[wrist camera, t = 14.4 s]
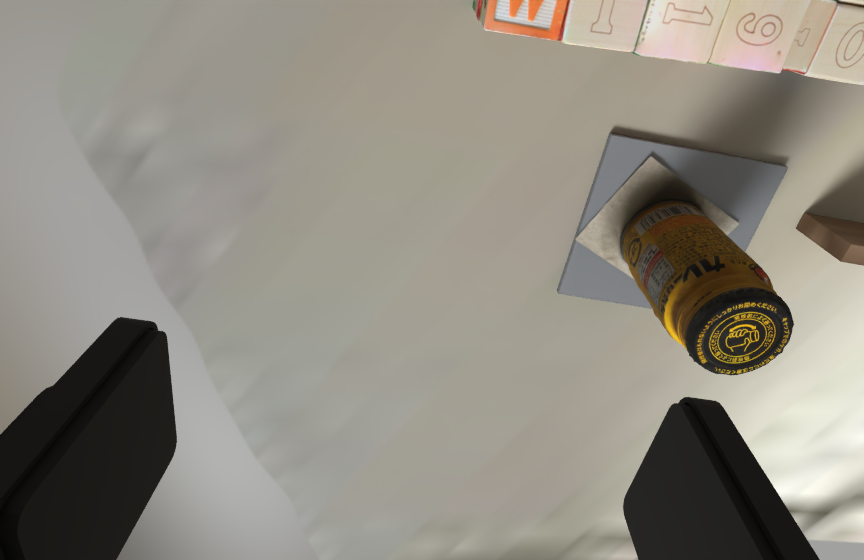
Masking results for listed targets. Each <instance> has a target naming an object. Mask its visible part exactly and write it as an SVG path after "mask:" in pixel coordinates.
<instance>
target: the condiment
mask: <svg viewBox="0 0 864 560" xmlns="http://www.w3.org/2000/svg"><path fill="white" fill-rule="evenodd" d="M738 225H739V223H738V222H736V221H735V220H734V219H732V218H731V217H730V216H728V215H727V214H726V213H725V212H723V211H722V210H721V209H719V208H718V207H717V206H715V205H714V204H713V203H712V202H710V201H709V200H708V199H706V198H705V197H704V196H702V195H701V194H700V193H698V192H697V191H696V190H695V189H693V188H692V187H690V186H689V185H688V184H686V183H685V182H684V181H683V180H681V179H680V178H679V177H677V176H676V175H675V174H674V173H672V172H671V171H670V170H668V169H667V168H666V167H664V166H663V165H662V164H660V163H659V162H658V161H656V160H655V159H654V158H652V157H649V158H648V160H647V161H646V162H645V163H644V164H643V165H642V166H641V167H640V168H638V170H637V171H636V172H635V173H634V174H633V175H632V176H631V177H630V178H629V179H628V181H627V182H626V183H625V184H624V185H623V186H622V187H621V188H620V189H619V190H618V191H617V192H616V193H615V195H614V196H613V197H612V198H611V199H610V200H609V201H608V203H607V204H605V205H604V206H603V208H602V209H601V210H600V212H599V213H598V214H597V215H596V216H595V217H594V218H593V219H592V220H591V221H590V223H589V224H588V225H587V226H586V227H585V229H584V230H583V231H582V232H581V233H580V234H579V235H578V237H577V238H576V239H575V240H576V241H578V242H579V243H581V244H582V245H583V246H585V247H587V248H588V249H590V250H591V251H593V252H594V253H595V254H597V255H598V256H600V257H602V258H603V259H604V260H606V261H607V262H609V263H610V264H612V265H613V266H615V267H616V268H618V269H620V270H621V271H623V272H624V273H626V274H627V275H629V276H630V277H631V278H633V279H635V281H636V283H637V285H638V287H639V289H640V290H641V291H642V293H643V294H644V295H645V297H646V299H647V300H648V302H649V303H650V305H651V307H652V308H653V311H654V314H655V315H656V317H658V318H659V320H660V321H661V323H662V325H663V326H664V328H665V329H666V330H667V332H668V333H669V335H670V336H671V337H672V338H673V339H674V340H676V341H677V342H679V343H680V344H682V345H683V346H684V347H685V348H686V349H687V351H688V352H689V356H691V357H692V358H693V360H694V361H695V362H697V363H698V364H699V365H701V366H702V367H703V368H705V369H707V370H709V371H711V372H713V373H716V374H727V375H738V374H742V373H746V372H750V371H753V370H755V369H758V368H760V367H762V366H764V365H766V364H768V363H769V362H770V361H771V360H773V359H774V358H775V357H776V356H777V355H779V354H780V353H782V352H783V349H784V347H785V346H786V345H787V344H788V342H789V340H790V337H791V333H792V328H793V325H794V323H793V319H792V315H791V312H790V309H789V307H788V306H787V304H786V303H785V302H784V301H783V300H782V298H781V297H779V296H778V295H777V294H776V292H775V291H774V290H773V286H772V283H771V281H770V279H769V277H768V275H767V274H766V273H765V272H764V270H763V269H762V268H761V267H760V266H759V265H758V264H757V263H756V262H755V261H754V260H752V258H750V257H749V256H748V255H747V254H746V253H745V252H744V251H743V250H742V249H741V248H740V247H739V246H738V245H737V244H735V242H733V240H732V239H730V238H729V237H728V236H727V235H728V234H730V233H731V232H732V231H733V230H734V229H735V228H736V227H737V226H738Z"/></svg>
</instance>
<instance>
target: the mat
mask: <svg viewBox="0 0 864 560" xmlns="http://www.w3.org/2000/svg"><path fill="white" fill-rule="evenodd" d="M649 157H652V158H654V159H655V160H656V161H658V162H659V163H660V164H662V165H663V166H664V167H666V168H667V169H668V170H670V171H671V172H672V173H674V174H675V175H676V176H677V177H679V178H680V179H681V180H683V181H684V182H685V183H686V184H688V185H689V186H690V187H692V188H693V189H695V190H696V191H697V192H698V193H700V194H701V195H702V196H704V197H705V198H706V199H708V200H709V201H710V202H712V203H713V204H714V205H715V206H717V207H718V208H719V209H721V210H722V211H723V212H725V213H726V214H727V215H728V216H730V217H731V218H732V219H734V220H735V221H736V222H738V223H739V225H738V226H737V227H736V228H735V229H734V230H733V231H732V232H731V233H730V234H728V235H727V236H728V237H729V238H730V239H732V240H733V242H735V244H737V245H738V246H739V247H740V248H741V249H742V250H743V251H744V252H745V251H746V249H747V247H748V245H749V243H750V241H751V239H752V237H753V235H754V233H755V231H756V229H757V228H758V226H759V224H760V222H761V220H762V218H763V216H764V214H765V212H766V210H767V208H768V206H769V204H770V202H771V200H772V198H773V196H774V194H775V192H776V190H777V188H778V186H779V185H780V183H781V181H782V179H783V177H784V175H785V173H786V171H787V169H788V167H786V166H784V165H780V164H774V163H769V162H764V161H758V160H753V159H747V158H742V157H736V156H731V155H726V154H720V153H715V152H709V151H704V150H698V149H693V148H688V147H682V146H677V145H671V144H666V143H660V142H655V141H650V140H644V139H639V138H633V137H628V136H622V135H617V134H612V133H610V134H609V137H608V140H607V143H606V146H605V149H604V152H603V155H602V158H601V161H600V164H599V167H598V170H597V172H596V175H595V178H594V181H593V184H592V187H591V190H590V193H589V196H588V199H587V202H586V205H585V208H584V211H583V214H582V217H581V220H580V223H579V226H578V229H577V232H576V235H575V238H574V241H573V244H572V247H571V250H570V253H569V256H568V259H567V262H566V265H565V268H564V271H563V274H562V277H561V280H560V283H559V286H558V289H557V291H558V294H564V295H570V296H576V297H583V298H589V299H595V300H601V301H607V302H613V303H620V304H626V305H632V306H638V307H644V308H650V309H653V308H652V307H651V305H650V303H649V302H648V300H647V299H646V297H645V295H644V294H643V293H642V291H641V290H640V289H639V287H638V285H637V283H636V281H635V279H633V278H631V277H630V276H629V275H627V274H626V273H624V272H623V271H621V270H620V269H618V268H616V267H615V266H613V265H612V264H610V263H609V262H607V261H606V260H604V259H603V258H602V257H600V256H598V255H597V254H595V253H594V252H593V251H591V250H590V249H588V248H587V247H585V246H583V245H582V244H581V243H579V242H578V241H576V240H575V239H576V238H577V237H578V235H579V234H580V233H581V232H582V231H583V230H584V229H585V227H586V226H587V225H588V224H589V223H590V221H591V220H592V219H593V218H594V217H595V216H596V215H597V214H598V213H599V212H600V210H601V209H602V208H603V206H604V205H605V204H607V203H608V201H609V200H610V199H611V198H612V197H613V196H614V195H615V193H616V192H617V191H618V190H619V189H620V188H621V187H622V186H623V185H624V184H625V183H626V182H627V181H628V179H629V178H630V177H631V176H632V175H633V174H634V173H635V172H636V171H637V170H638V168H640V167H641V166H642V165H643V164H644V163H645V162H646V161H647V160H648V158H649Z"/></svg>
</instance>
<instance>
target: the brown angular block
mask: <svg viewBox="0 0 864 560" xmlns="http://www.w3.org/2000/svg"><path fill="white" fill-rule="evenodd" d="M796 229H797V230H798V231H800V232H801V233H803V234H804V235H805V236H807V237H808V238H809V239H811V240H812V241H813V242H815V243H816V244H818V245H819V246H820V247H822V248H823V249H824V250H826V251H827V252H828V253H830V254H831V255H833V256H834V257H835V258H837V259H838V260H839V261H841V262H847V263H853V264H858V265H864V223H858V222H853V221H847V220H841V219H836V218H830V217H824V216H819V215H813V214H808V213H804V215H803V216H802V218H801V220H800V222H799V224H798V225H797V227H796Z"/></svg>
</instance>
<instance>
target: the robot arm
mask: <svg viewBox="0 0 864 560" xmlns="http://www.w3.org/2000/svg"><path fill="white" fill-rule="evenodd" d="M176 443H177V436H176V425H175V415H174V405H173V395H172V384H171V375H170V364H169V353H168V343H167V336H166V334H165V332H163V331H158V328H157V325H156V324H155V323H154V322H151V321H144V320H137V319H129V318H123V317H120V318H117V319H116V320H115V321H113V322H112V323H111V324H110V326H109V327H108V328H107V329H106V330H105V331H104V332H103V333H102V334H101V335H100V336H99V337H98V338H97V339H96V341H95V342H94V343H93V344H92V345H91V346H90V347H89V348H88V349H87V350H86V351H85V352H84V353H83V355H81V357H80V358H79V359H78V360H77V361H76V362H75V363H74V364H73V365H72V366H71V367H70V368H69V370H67V372H66V373H65V374H64V375H63V376H62V377H61V378H60V379H59V380H58V381H57V382H56V383H55V384H54V385H53V386H51V387H49V388H46V389H45V390H44V391H42V392H41V393H40V394H39V395H38V396H37V397H36V398H35V399H34V400H33V401H32V402H31V403H30V404H29V405H28V406H27V407H26V408H25V409H24V411H22V413H21V414H20V415H19V416H18V417H17V418H16V419H15V420H14V421H13V422H12V423H11V424H10V425H9V426H8V427H7V428H6V430H4V432H3V433H2V434H1V435H0V560H116V559H117V557H118V555H119V554H120V552H121V550H122V548H123V546H124V545H125V543H126V541H127V539H128V537H129V536H130V534H131V532H132V530H133V528H134V527H135V525H136V523H137V521H138V519H139V518H140V516H141V514H142V512H143V510H144V509H145V507H146V505H147V503H148V501H149V500H150V498H151V496H152V494H153V492H154V490H155V489H156V487H157V485H158V483H159V481H160V479H161V478H162V476H163V474H164V473H165V471H166V469H167V467H168V465H169V463H170V462H171V460H172V458H173V455H174V452H175V449H176ZM623 510H624V516H625V519H626V522H627V526H628V529H629V532H630V535H631V538H632V541H633V544H634V547H635V550H636V553H637V556H638V559H639V560H819V558H818V556H817V555H816V553H815V552H814V550H813V548H812V547H811V546H810V544H809V542H808V541H807V539H806V537H805V536H804V534H803V533H802V531H801V529H800V528H799V526H798V525H797V523H796V522H795V520H794V518H793V517H792V515H791V514H790V512H789V511H788V509H787V507H786V506H785V504H784V503H783V501H782V500H781V498H780V496H779V495H778V493H777V492H776V490H775V488H774V487H773V485H772V484H771V482H770V481H769V479H768V477H767V476H766V474H765V473H764V471H763V470H762V468H761V466H760V465H759V463H758V462H757V460H756V459H755V457H754V455H753V454H752V452H751V451H750V449H749V447H748V446H747V444H746V443H745V441H744V440H743V438H742V436H741V435H740V433H739V432H738V430H737V429H736V427H735V425H734V424H733V422H732V421H731V419H730V417H729V416H728V414H727V413H726V411H725V410H724V408H723V407H722V405H721V404H720V403H718V402H716V401H712V400H705V399H698V398H691V397H684V398H683V399H681V400H680V402H679V403H675V404H673V405H671V407H670V408H669V410H668V412H667V414H666V416H665V418H664V420H663V422H662V424H661V426H660V428H659V430H658V432H657V434H656V436H655V438H654V440H653V442H652V444H651V446H650V448H649V450H648V452H647V454H646V456H645V458H644V460H643V462H642V464H641V466H640V468H639V470H638V472H637V474H636V476H635V478H634V480H633V482H632V483H631V485H630V487H629V489H628V491H627V493H626V496H625V498H624V504H623Z"/></svg>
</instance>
